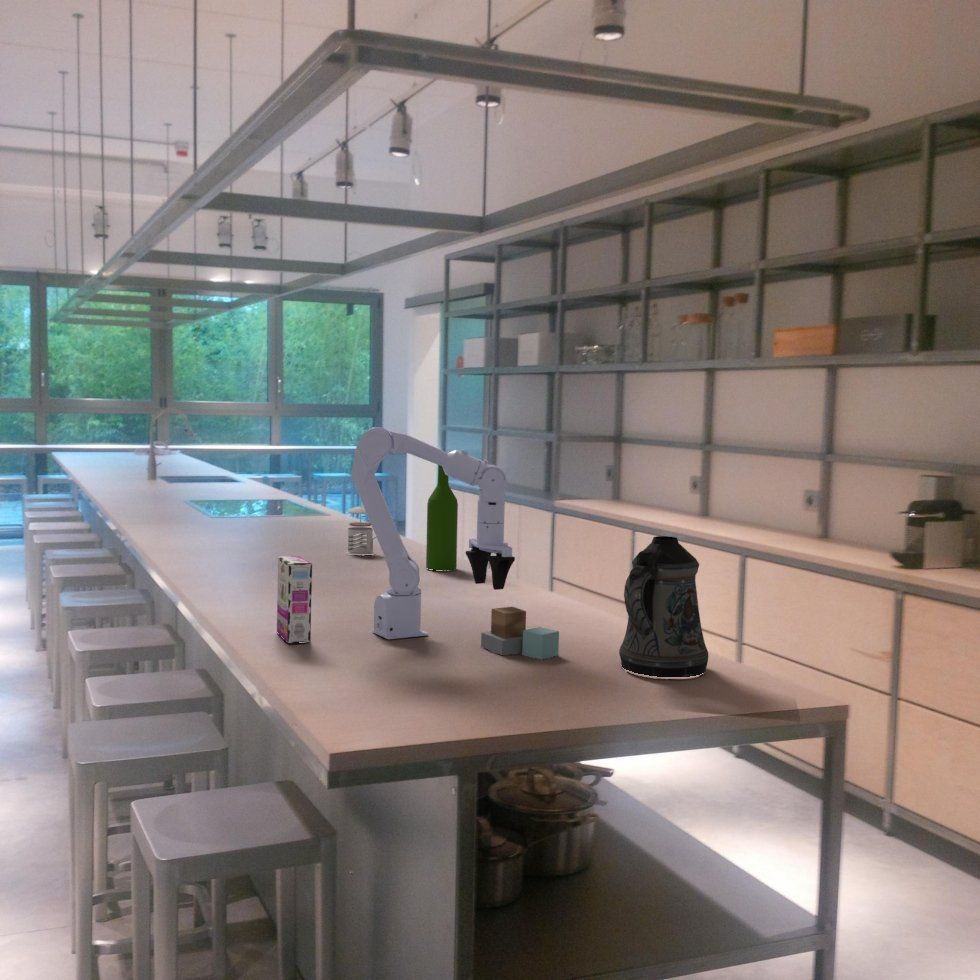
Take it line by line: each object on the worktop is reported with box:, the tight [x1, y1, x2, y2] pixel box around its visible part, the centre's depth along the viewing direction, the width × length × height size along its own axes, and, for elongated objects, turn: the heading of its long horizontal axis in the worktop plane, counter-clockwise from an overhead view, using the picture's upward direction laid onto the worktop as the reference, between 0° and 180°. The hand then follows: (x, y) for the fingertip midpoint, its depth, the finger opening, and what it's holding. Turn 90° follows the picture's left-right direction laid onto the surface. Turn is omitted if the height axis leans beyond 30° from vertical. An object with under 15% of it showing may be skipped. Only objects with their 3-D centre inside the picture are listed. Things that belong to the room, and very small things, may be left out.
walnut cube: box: [490, 606, 527, 638], centre depth 208 cm, size 5×5×5 cm
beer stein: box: [618, 535, 709, 677], centre depth 193 cm, size 16×19×25 cm
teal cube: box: [521, 626, 560, 660], centre depth 203 cm, size 5×5×5 cm
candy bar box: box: [276, 555, 313, 643], centre depth 212 cm, size 11×5×16 cm, turn 23°
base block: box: [480, 630, 523, 656], centre depth 208 cm, size 8×8×3 cm
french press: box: [345, 498, 377, 554], centre depth 330 cm, size 10×12×25 cm
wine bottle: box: [425, 465, 459, 571], centre depth 304 cm, size 9×9×32 cm
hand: (489, 586), depth 220 cm, fingers open, 7 cm apart
